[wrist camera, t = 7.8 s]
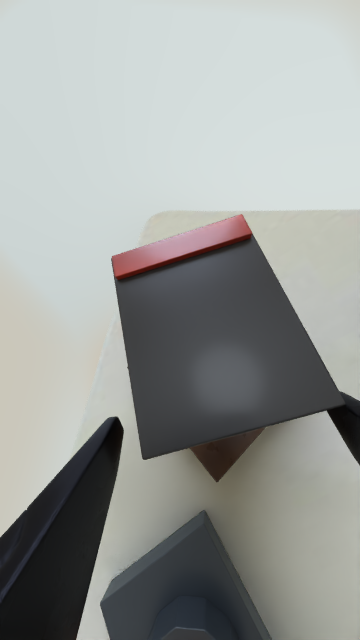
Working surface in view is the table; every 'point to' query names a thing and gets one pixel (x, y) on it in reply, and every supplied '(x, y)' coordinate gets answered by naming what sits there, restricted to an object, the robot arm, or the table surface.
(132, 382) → the box
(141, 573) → the button housing
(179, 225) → the table surface
